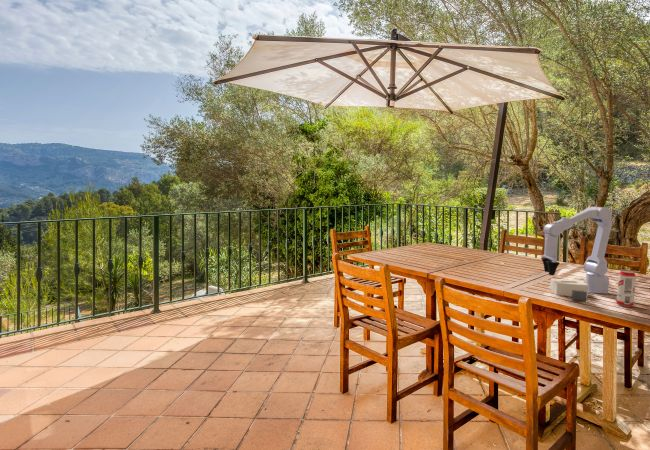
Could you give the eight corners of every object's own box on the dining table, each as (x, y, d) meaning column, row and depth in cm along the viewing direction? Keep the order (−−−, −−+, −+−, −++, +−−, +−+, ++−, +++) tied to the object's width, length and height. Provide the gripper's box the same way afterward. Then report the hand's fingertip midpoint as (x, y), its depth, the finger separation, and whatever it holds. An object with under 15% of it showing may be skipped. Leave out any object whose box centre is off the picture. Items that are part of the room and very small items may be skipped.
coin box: (579, 291, 202) (580, 280, 201) (587, 296, 192) (588, 285, 191) (550, 289, 205) (550, 278, 204) (556, 295, 195) (557, 283, 195)
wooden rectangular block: (584, 300, 186) (584, 290, 185) (586, 302, 184) (586, 291, 183) (571, 300, 187) (572, 289, 187) (573, 301, 185) (573, 291, 185)
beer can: (618, 306, 177) (621, 272, 175) (614, 302, 183) (617, 269, 181) (635, 308, 175) (638, 273, 173) (630, 304, 181) (633, 270, 179)
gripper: (538, 244, 206) (536, 270, 208) (546, 249, 192) (544, 276, 194) (553, 245, 205) (551, 270, 206) (562, 250, 191) (560, 277, 192)
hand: (549, 273), depth 200 cm, fingers open, 7 cm apart
